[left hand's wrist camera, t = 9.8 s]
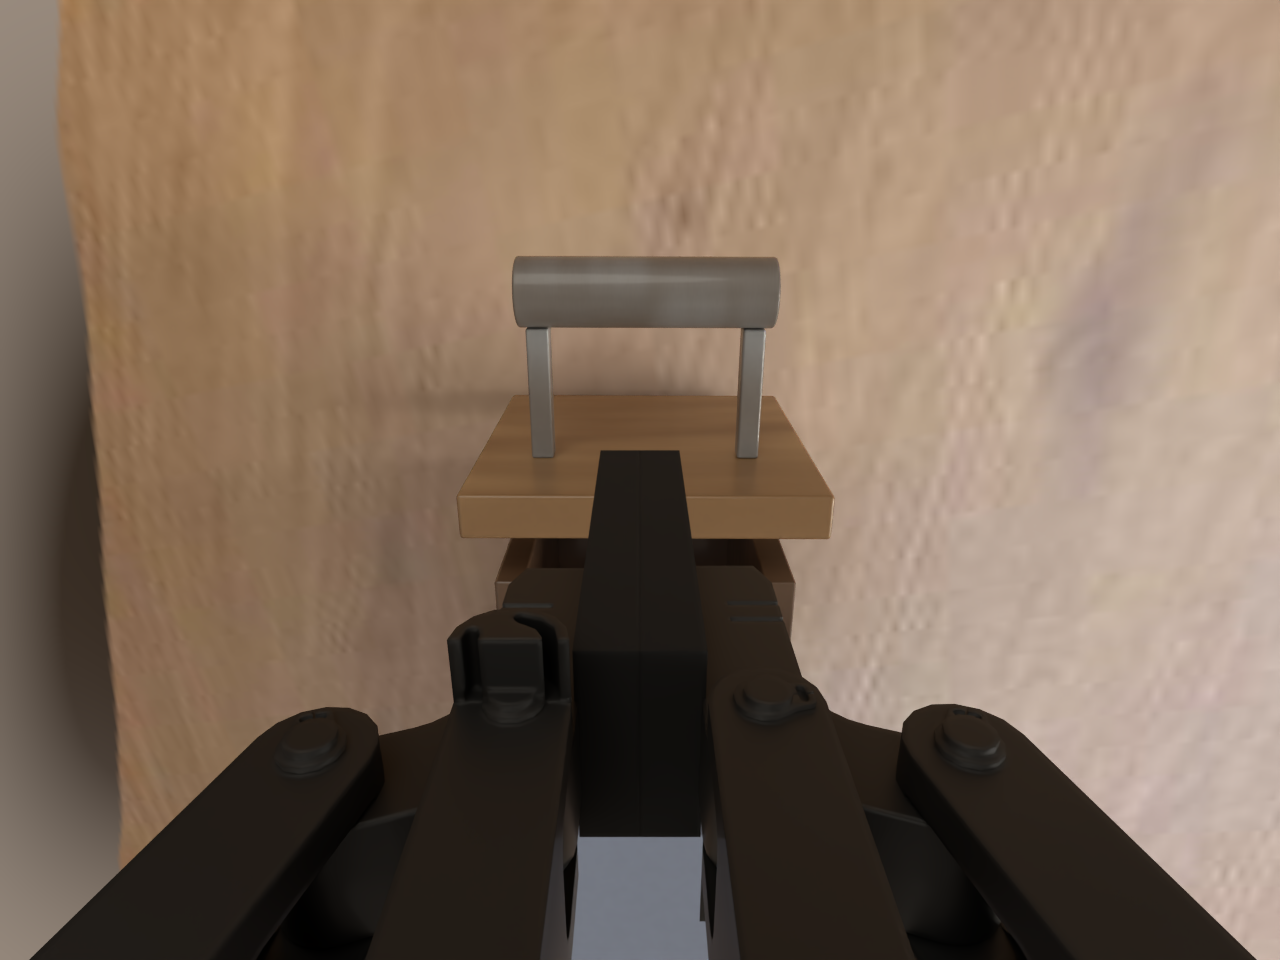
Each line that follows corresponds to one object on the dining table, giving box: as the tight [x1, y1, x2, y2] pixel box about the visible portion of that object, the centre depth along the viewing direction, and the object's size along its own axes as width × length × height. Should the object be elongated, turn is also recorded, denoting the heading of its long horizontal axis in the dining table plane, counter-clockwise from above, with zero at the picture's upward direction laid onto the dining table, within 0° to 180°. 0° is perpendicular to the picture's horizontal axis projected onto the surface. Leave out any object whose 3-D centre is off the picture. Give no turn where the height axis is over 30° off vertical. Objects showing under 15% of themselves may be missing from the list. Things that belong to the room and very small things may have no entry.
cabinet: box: [572, 827, 709, 960], centre depth 30 cm, size 18×11×11 cm, turn 0°
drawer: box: [457, 256, 835, 641], centre depth 25 cm, size 22×9×9 cm, turn 0°
